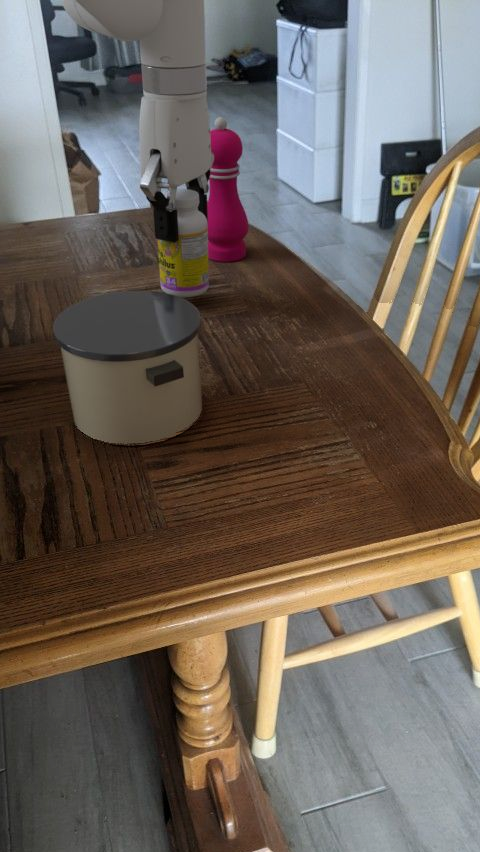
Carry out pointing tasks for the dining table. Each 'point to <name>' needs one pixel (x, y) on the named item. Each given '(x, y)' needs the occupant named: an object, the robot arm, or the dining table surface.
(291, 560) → the dining table surface
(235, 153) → the pepper mill
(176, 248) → the supplement bottle
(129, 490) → the dining table surface
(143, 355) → the pot
